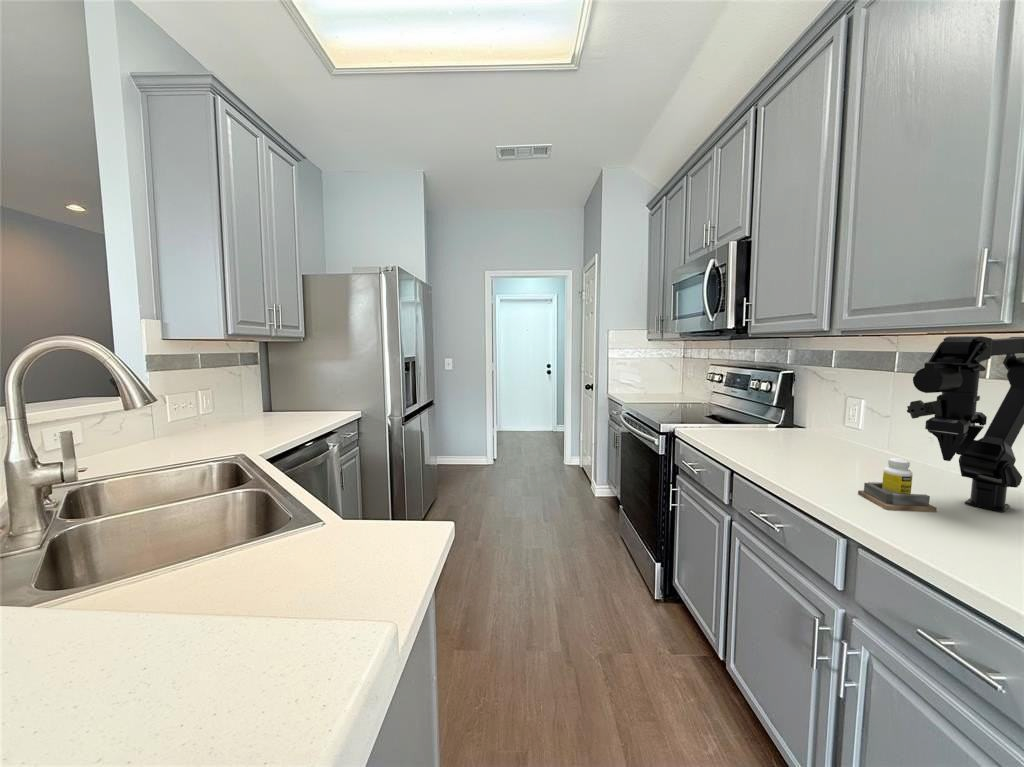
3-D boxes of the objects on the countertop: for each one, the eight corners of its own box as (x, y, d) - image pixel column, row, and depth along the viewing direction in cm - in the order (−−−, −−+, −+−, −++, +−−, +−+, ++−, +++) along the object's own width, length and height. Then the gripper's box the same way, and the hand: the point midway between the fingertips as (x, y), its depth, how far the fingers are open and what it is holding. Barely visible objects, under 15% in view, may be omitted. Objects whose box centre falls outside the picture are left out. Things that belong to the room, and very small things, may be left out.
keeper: (902, 495, 113) (904, 482, 113) (936, 511, 103) (937, 497, 102) (858, 494, 115) (858, 481, 114) (886, 509, 104) (887, 495, 104)
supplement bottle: (902, 503, 105) (905, 464, 104) (876, 496, 110) (879, 458, 109) (915, 500, 107) (918, 461, 106) (889, 493, 112) (892, 456, 111)
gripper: (926, 385, 112) (921, 445, 113) (899, 390, 102) (893, 456, 103) (990, 389, 102) (983, 454, 104) (966, 395, 92) (959, 467, 94)
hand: (953, 457), depth 101 cm, fingers open, 9 cm apart
